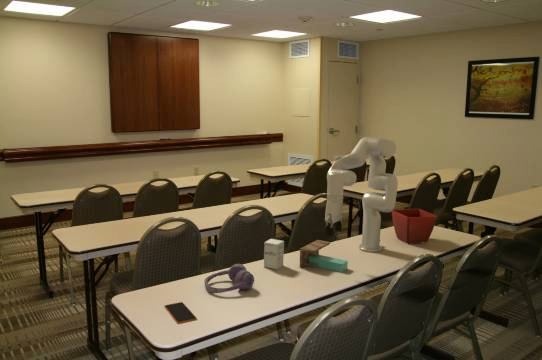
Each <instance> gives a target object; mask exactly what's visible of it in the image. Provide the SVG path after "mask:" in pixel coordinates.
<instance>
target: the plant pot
mask: <svg viewBox="0 0 542 360" xmlns="http://www.w3.org/2000/svg"><path fill="white" fill-rule="evenodd" d="M391 217H392V223H393V228H394V232H395V235H396V238H397V239H398V240H400V241H401V242H403V243H405V242H406V244H407V243H408V244H407V245H411V243H416V244H421V243H420V242H427V243H428V240H429V239H430V238H431V235H432V233H433V230H434V228H435V225H436V222H437V219H438V216H437V215H435V214H433V213H431V212H428V211H426V210H423V209H421V208H406V209H393V211H391Z"/></svg>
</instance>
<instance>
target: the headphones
mask: <svg viewBox="0 0 542 360" xmlns="http://www.w3.org/2000/svg"><path fill="white" fill-rule="evenodd" d="M225 275H227V276H228V278H229V280H230V281H232V282H233V283H234V284H235V285H231V286H229V287H223V288H222V287H219V288H218V287H214V286H211V285H209V282H210V281H211V280H213V279H215V278H216V277H220V276H225ZM203 283H204V288H205V290H206V291H207V293H209V294H210V293H211V294H222V293H227V292H232V291H236V290H243V291H245V290H248V289H251V288H252V287H253V285H254V284H255V276H254V275H253V274H252V273H251V272H250V271H248V270H247V268H246V266H244V265H243V264H241V263H235V264H232V265H231V266H230V268H229V269H226V270H221V271H218V272H216V273H213V274H210V275H209V276H207V277H205V278H204V281H203Z"/></svg>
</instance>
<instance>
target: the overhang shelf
mask: <svg viewBox="0 0 542 360" xmlns="http://www.w3.org/2000/svg"><path fill="white" fill-rule="evenodd" d="M330 244H331V243H330V241H325V240H319V239H316V240H315V241H312V242H310V243H308V244H307V245H305V246H303V247H301V248H299V268H300V269H302V268H304V267H310V268H311V267H312V268H316V269H317V268H319V267H318V264H314V263H310V262H309V256H311V255H313V254H318V255H320V250H322V249H324V248H325V247H328V246H329V245H330Z"/></svg>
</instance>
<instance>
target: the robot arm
mask: <svg viewBox="0 0 542 360" xmlns="http://www.w3.org/2000/svg"><path fill="white" fill-rule="evenodd" d="M396 153H397V144H396V142H395V141H393V140H390V139H387V138H382V137H371V136H370V137H369V136H364V137H362V138H361V139H359V140H358V142H357V143H356V145H355V147H354V148H353V150H351V152H350V153H349V154H347V155H345V156H343V157H341V158H339V159H337V160H335V162H333V164H332V165H331V166H330V168H329V169H328V171H327V173H326V181H327V187H326V206H325V214H324V216H325V217H324V222H325V235H326V236H328V237H333V235H334V234H333V233H334V232H333V231H337V232H342V224H343V216H344V212H343V202H344V187H352V186H353V185H355V183H356V182H357V177H358V176H357V175H356V173H355V172H354V171H352V170H350V169H355V168H360V167H362V166H363V165H364V164H365V163H366V161H367V160H368V159H369V169H368V170H369V171H368V178H367V187H368V188H369V189H371V190H374V191H367V192H365V193H364V194H363V195H362V197H361V199H362V200H361V202H362V210H363V214H362V215H363V217H362V237H361V238H362V239H361V244H359V245H358V248H359V250H361V251H363V252H368V253H376V252H377V253H378V252H382V251H383V246H382V245H380V244H381V226H382V224H381V222H382V216H381V214H380V212H383V213H392V211H393V210H395V206H396V200H397V193H398V185H399V181H398V178H397V175H395V174H392V173H386V169H387V168H386V167H387V163H386V160H385V158H386V157H387V158H388V157H389V158H391V157H393V156H394V155H395V154H396ZM384 157H385V158H384ZM376 191H381V192H385V193H381V192H376ZM333 225H334V227H333Z"/></svg>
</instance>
